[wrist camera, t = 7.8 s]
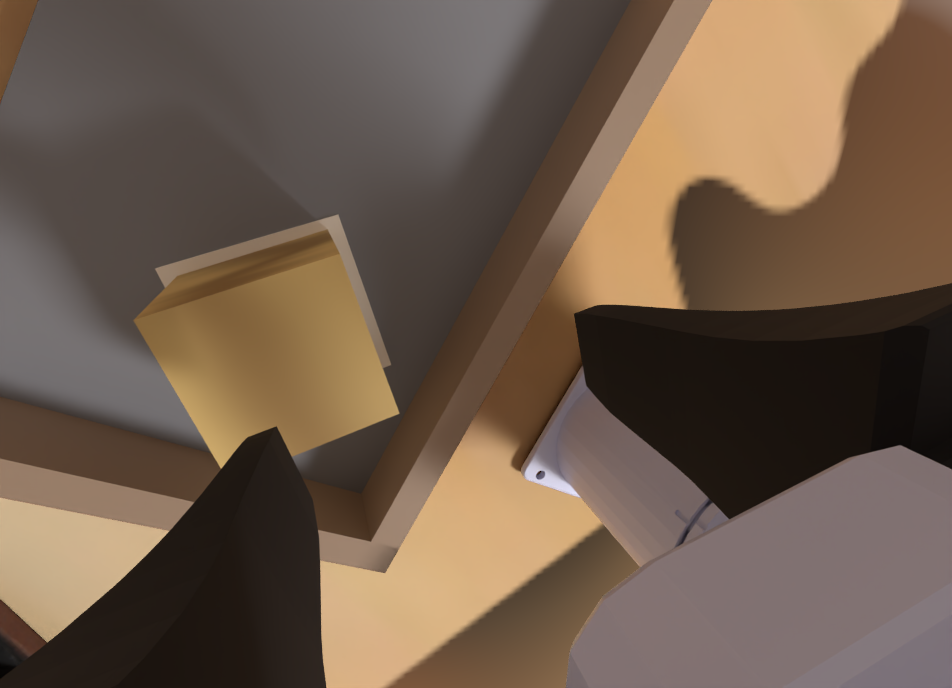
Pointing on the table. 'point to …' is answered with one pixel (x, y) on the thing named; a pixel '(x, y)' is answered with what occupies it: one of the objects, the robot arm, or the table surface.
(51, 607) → the table surface
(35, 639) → the letter holder
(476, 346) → the arena
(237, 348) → the ochre block
